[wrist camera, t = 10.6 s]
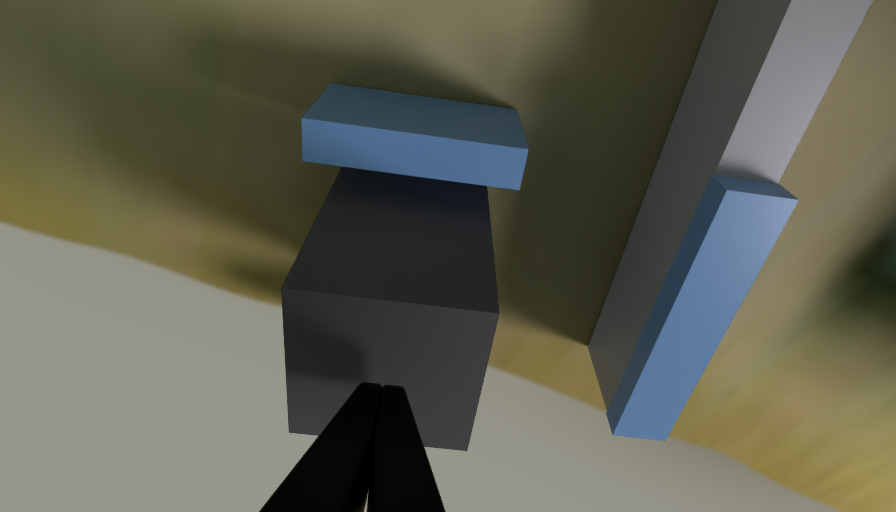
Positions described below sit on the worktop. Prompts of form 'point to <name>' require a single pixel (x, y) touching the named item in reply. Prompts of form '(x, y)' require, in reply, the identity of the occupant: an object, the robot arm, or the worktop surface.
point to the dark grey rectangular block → (393, 302)
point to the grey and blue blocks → (667, 197)
